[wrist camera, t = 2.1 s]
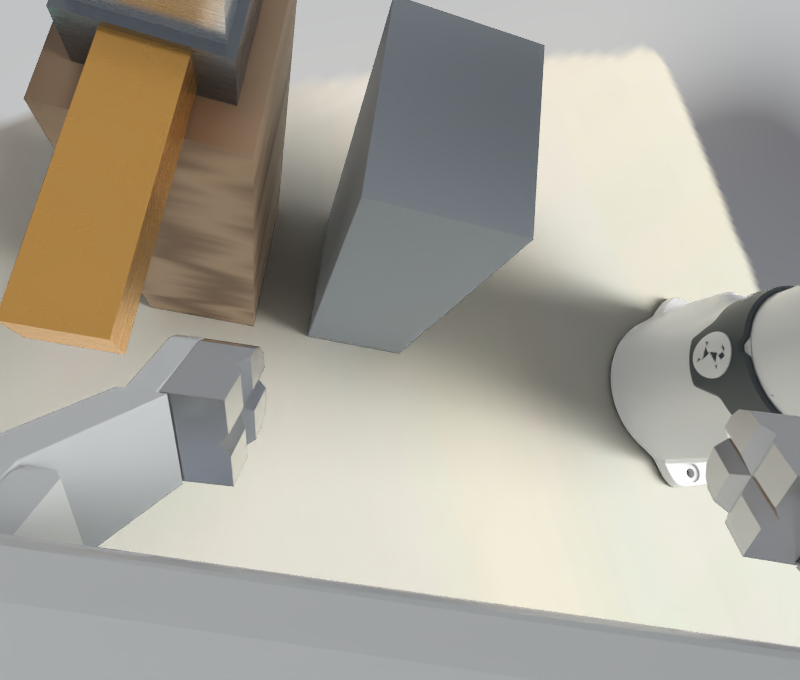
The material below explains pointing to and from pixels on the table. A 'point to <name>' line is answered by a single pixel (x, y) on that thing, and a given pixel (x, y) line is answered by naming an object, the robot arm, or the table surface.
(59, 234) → the wood and grey block
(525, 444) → the table surface
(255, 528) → the table surface
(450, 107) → the grey stand
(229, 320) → the walnut stand
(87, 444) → the robot arm
